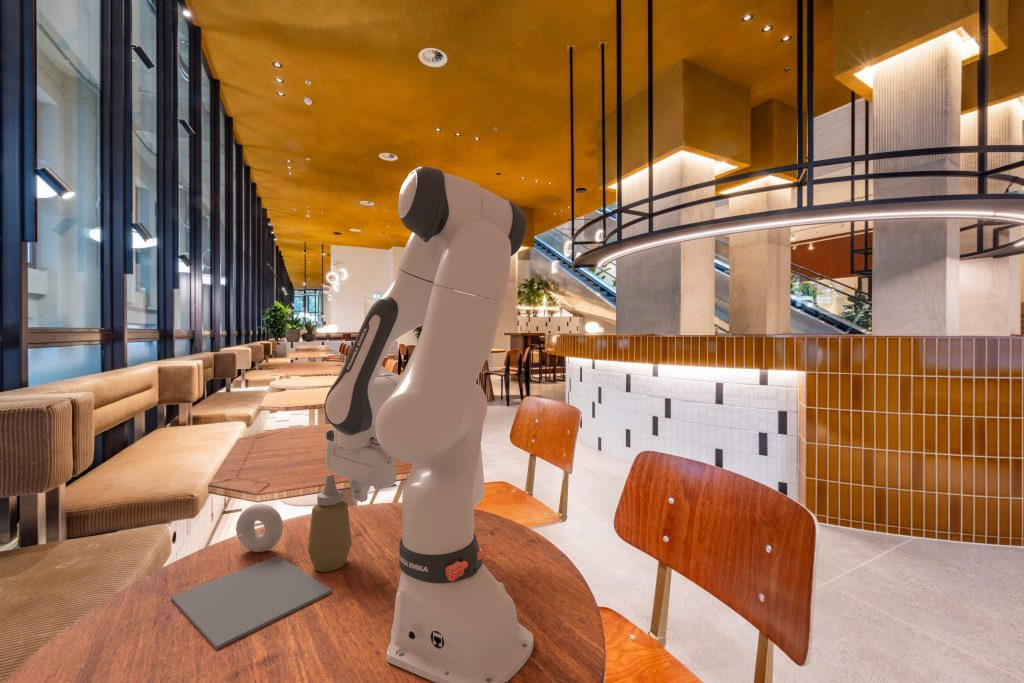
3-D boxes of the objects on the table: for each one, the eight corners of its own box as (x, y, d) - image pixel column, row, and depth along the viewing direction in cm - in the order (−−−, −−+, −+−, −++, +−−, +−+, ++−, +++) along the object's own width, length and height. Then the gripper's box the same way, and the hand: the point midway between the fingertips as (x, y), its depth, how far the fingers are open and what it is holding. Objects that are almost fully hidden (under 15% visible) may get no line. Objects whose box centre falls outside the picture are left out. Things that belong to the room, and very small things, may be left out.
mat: (331, 592, 78) (331, 589, 78) (216, 649, 64) (216, 646, 64) (278, 558, 90) (278, 555, 90) (171, 599, 76) (171, 596, 76)
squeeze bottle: (341, 576, 84) (342, 482, 83) (299, 575, 84) (299, 481, 84) (357, 555, 92) (357, 469, 91) (319, 554, 92) (319, 468, 92)
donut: (286, 548, 94) (286, 502, 94) (276, 556, 91) (276, 508, 91) (243, 546, 96) (243, 500, 95) (232, 553, 92) (231, 506, 92)
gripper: (403, 439, 89) (403, 507, 89) (346, 426, 101) (346, 486, 102) (377, 445, 84) (377, 517, 84) (320, 430, 96) (320, 493, 96)
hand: (359, 500), depth 93 cm, fingers closed
